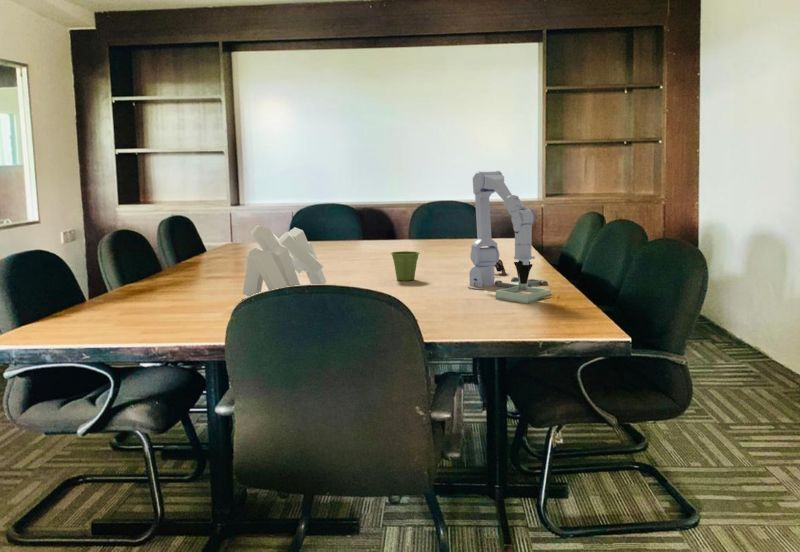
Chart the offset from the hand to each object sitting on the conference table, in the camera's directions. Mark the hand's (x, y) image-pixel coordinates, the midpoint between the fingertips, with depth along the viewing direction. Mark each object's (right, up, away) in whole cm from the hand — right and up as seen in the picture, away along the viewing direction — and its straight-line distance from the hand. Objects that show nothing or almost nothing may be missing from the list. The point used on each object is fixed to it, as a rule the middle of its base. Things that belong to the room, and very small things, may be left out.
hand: (522, 282), depth 260 cm
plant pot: (-41, +1, +46) cm, 61 cm away
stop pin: (0, -2, 0) cm, 2 cm away
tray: (0, -6, -1) cm, 6 cm away
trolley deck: (+3, -2, +20) cm, 20 cm away
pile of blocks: (-85, -5, +13) cm, 86 cm away
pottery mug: (-3, +3, +56) cm, 56 cm away
